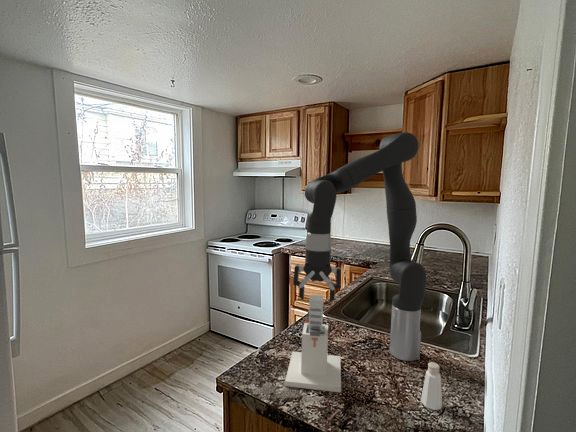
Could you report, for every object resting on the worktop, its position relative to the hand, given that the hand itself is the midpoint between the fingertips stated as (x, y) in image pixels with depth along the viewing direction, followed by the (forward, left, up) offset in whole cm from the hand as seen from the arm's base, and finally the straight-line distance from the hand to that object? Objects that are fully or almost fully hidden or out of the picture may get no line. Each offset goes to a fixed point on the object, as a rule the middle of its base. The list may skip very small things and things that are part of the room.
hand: (316, 300), depth 92 cm
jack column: (0, 0, -21) cm, 21 cm away
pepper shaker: (-32, +8, -24) cm, 40 cm away
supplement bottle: (+2, -20, -24) cm, 31 cm away
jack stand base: (0, 0, -23) cm, 23 cm away
